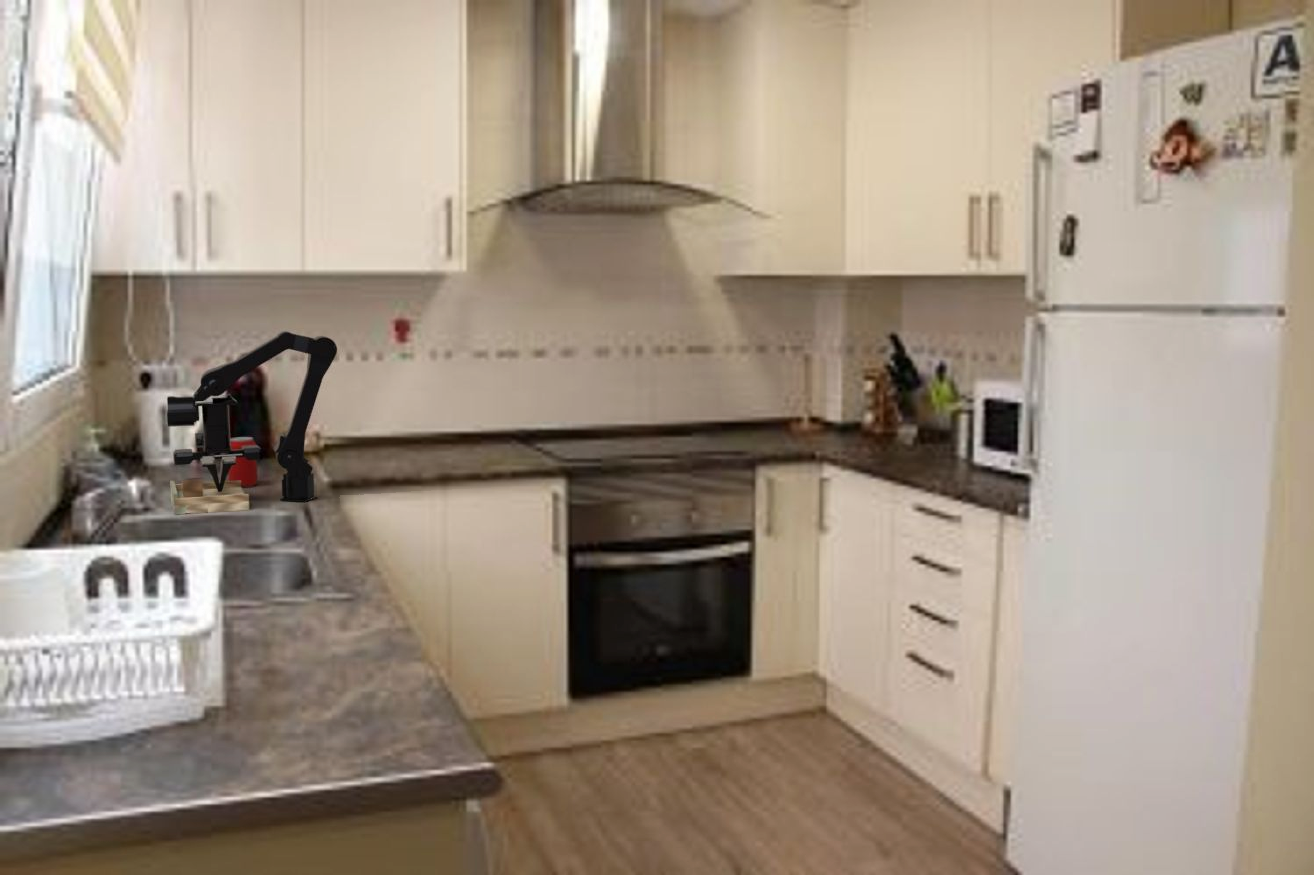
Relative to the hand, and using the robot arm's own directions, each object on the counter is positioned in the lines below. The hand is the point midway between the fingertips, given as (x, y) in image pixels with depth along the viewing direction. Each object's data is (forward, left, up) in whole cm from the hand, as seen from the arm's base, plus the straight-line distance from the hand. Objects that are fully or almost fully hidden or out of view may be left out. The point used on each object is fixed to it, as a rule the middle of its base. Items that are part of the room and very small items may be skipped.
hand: (219, 491), depth 259 cm
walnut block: (+5, +3, -1) cm, 6 cm away
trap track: (+2, +1, -3) cm, 4 cm away
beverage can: (+8, -22, -3) cm, 23 cm away
